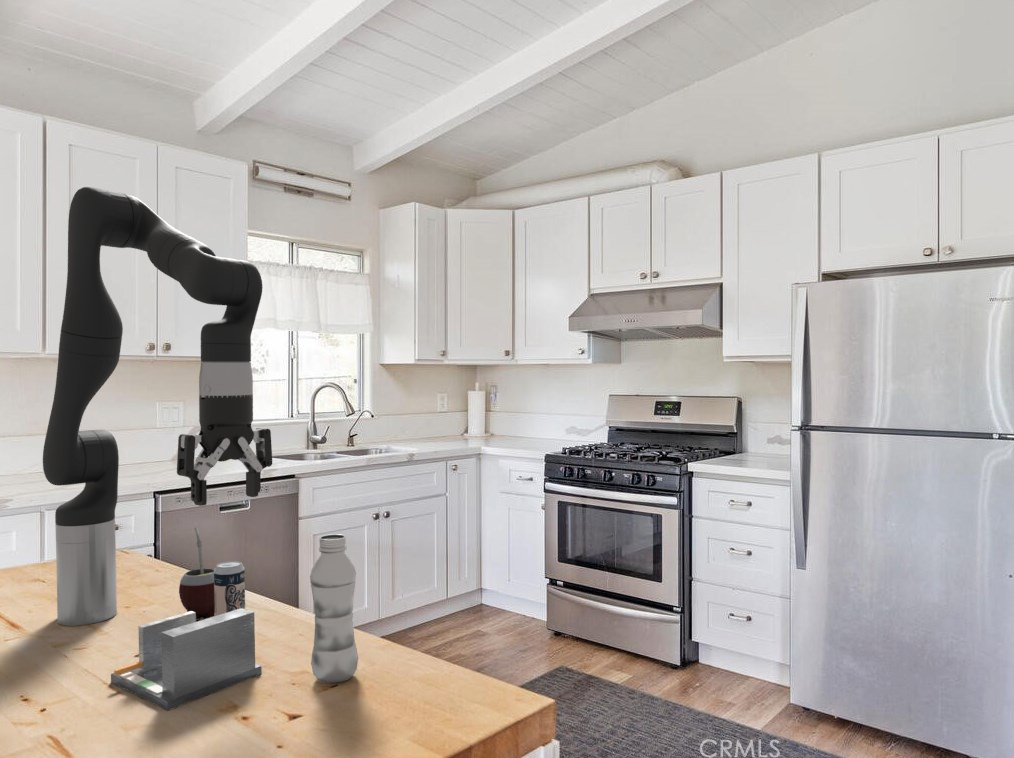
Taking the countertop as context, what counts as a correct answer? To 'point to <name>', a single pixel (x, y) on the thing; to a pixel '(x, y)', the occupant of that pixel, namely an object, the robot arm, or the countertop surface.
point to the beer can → (229, 587)
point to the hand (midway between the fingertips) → (226, 500)
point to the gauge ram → (155, 640)
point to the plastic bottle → (333, 612)
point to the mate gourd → (198, 588)
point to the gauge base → (197, 661)
